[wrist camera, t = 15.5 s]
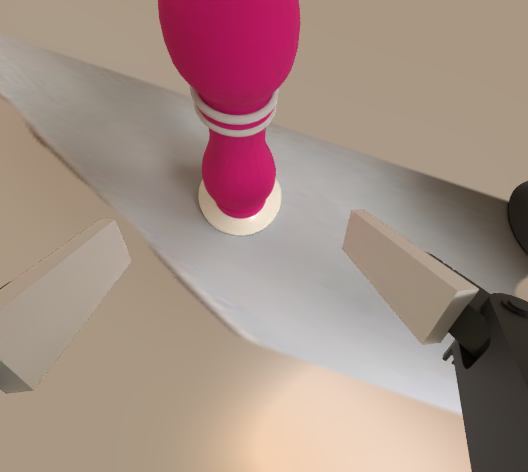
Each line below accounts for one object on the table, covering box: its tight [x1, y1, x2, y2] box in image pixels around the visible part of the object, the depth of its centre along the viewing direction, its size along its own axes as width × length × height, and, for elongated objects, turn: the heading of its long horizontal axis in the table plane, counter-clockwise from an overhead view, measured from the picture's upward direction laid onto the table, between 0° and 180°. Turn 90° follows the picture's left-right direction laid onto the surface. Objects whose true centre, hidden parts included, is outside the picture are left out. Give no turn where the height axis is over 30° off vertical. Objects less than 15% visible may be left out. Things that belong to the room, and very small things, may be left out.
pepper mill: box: [158, 0, 300, 219], centre depth 15 cm, size 7×7×20 cm
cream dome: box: [198, 177, 282, 236], centre depth 25 cm, size 10×10×1 cm
